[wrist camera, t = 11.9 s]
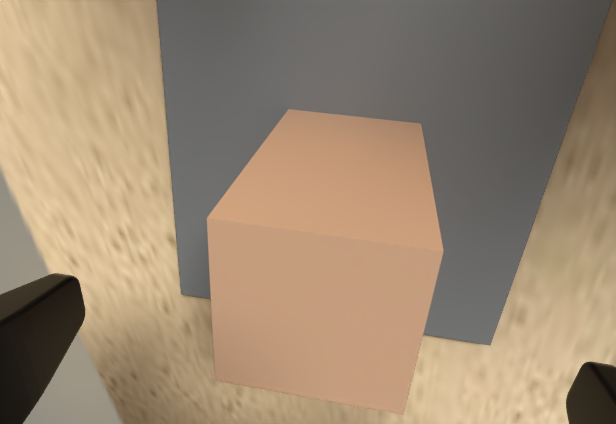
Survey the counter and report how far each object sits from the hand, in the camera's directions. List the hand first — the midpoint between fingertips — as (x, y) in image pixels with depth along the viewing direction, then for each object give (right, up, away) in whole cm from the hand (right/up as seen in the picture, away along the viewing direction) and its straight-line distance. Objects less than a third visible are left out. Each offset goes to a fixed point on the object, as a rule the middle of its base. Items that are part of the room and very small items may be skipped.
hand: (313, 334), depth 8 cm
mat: (+1, +3, +7) cm, 8 cm away
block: (+1, +3, +7) cm, 7 cm away
